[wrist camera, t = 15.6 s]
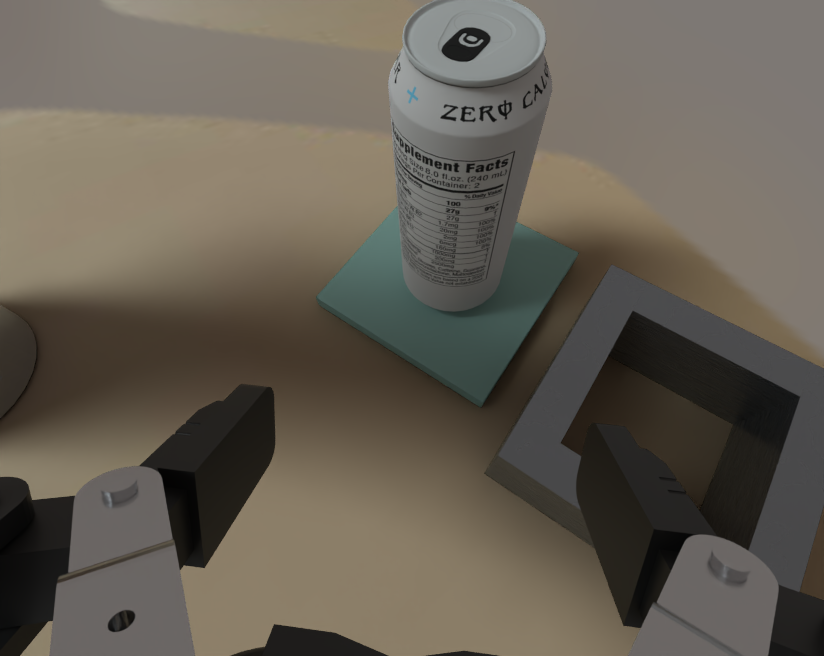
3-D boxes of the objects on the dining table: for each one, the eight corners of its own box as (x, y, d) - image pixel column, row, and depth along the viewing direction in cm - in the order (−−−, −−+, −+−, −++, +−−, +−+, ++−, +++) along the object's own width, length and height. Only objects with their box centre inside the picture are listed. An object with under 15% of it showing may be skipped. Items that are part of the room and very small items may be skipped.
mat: (319, 305, 29) (315, 297, 28) (424, 186, 34) (423, 176, 33) (481, 407, 26) (483, 402, 25) (574, 261, 30) (578, 252, 29)
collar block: (484, 473, 24) (497, 455, 20) (582, 309, 29) (611, 264, 24) (708, 625, 21) (784, 644, 17) (781, 415, 25) (857, 385, 21)
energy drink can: (516, 265, 29) (595, 16, 16) (467, 336, 27) (510, 119, 13) (436, 224, 31) (445, -34, 17) (384, 288, 29) (348, 52, 15)
